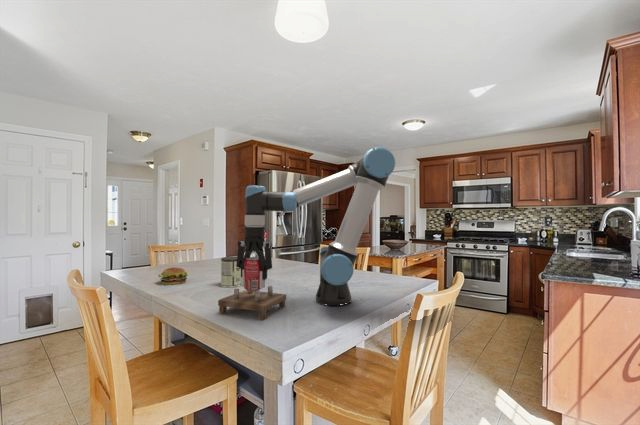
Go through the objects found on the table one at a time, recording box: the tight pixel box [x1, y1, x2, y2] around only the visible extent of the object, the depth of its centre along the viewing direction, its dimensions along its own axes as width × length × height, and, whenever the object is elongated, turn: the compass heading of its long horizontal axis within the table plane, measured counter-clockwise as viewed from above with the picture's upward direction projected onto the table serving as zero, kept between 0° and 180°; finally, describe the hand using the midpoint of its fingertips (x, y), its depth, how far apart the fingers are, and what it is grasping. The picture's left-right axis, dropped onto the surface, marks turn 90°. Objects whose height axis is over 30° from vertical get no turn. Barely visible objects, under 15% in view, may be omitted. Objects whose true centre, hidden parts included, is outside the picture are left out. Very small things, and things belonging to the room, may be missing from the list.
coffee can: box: [220, 256, 242, 289], centre depth 159 cm, size 10×10×14 cm
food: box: [157, 266, 188, 286], centre depth 164 cm, size 14×14×8 cm
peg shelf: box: [217, 285, 287, 321], centre depth 117 cm, size 19×17×8 cm
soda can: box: [243, 256, 262, 291], centre depth 117 cm, size 7×7×12 cm
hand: (253, 286), depth 117 cm, fingers closed on soda can, 7 cm apart
